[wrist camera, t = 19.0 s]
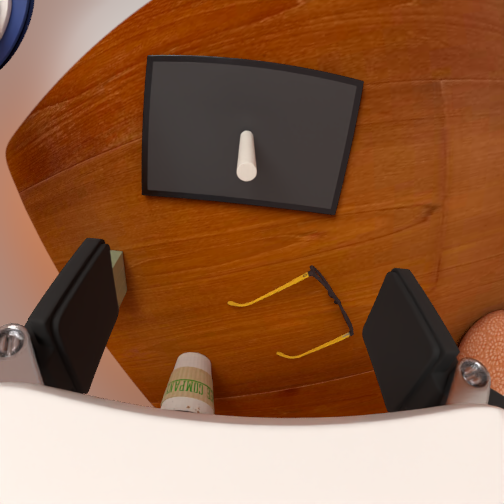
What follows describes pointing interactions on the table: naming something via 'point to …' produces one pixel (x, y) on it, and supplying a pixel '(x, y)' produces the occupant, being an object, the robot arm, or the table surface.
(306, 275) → the eyeglasses
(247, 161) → the stylus
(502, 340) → the planter
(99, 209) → the table surface
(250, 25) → the table surface
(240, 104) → the tablet
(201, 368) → the coffee cup
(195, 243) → the table surface
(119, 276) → the stylus holder
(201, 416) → the robot arm
